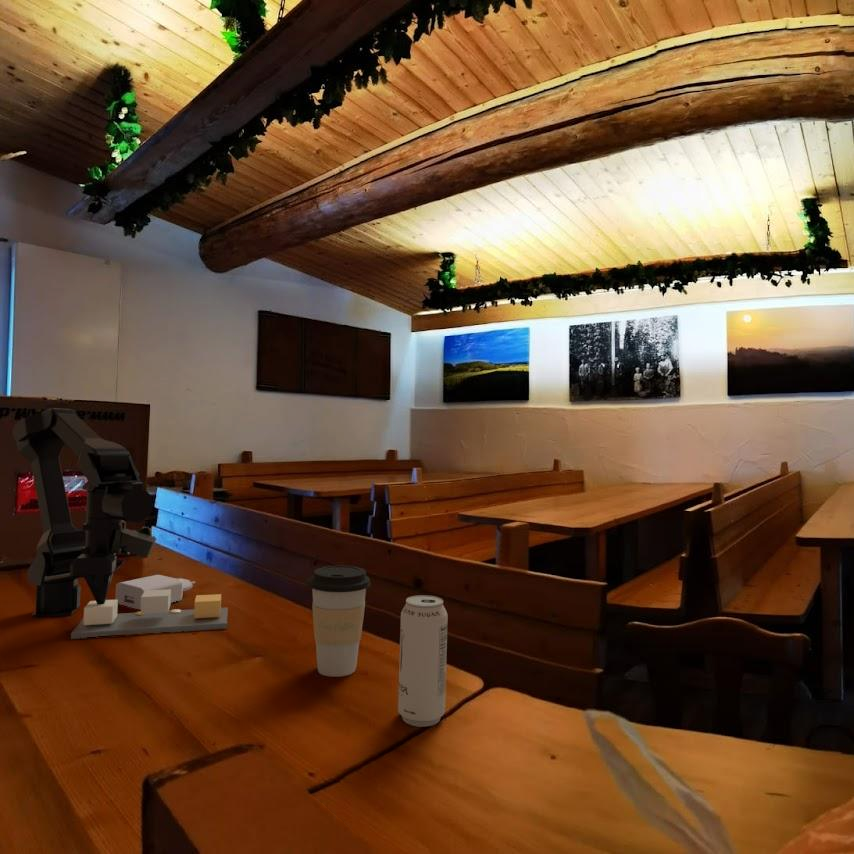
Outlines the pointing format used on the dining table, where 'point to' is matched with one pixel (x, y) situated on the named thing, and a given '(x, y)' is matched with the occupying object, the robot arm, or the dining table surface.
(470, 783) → the dining table surface
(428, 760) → the dining table surface
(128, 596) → the charger
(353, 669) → the coffee cup
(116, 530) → the robot arm
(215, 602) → the key amber
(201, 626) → the keypad base
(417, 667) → the energy drink can
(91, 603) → the key cream
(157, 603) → the key grey
